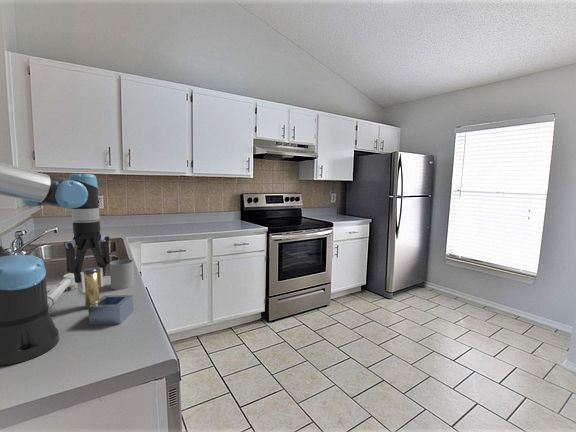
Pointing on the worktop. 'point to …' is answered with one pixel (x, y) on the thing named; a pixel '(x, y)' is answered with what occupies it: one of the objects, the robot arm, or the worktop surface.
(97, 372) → the worktop surface
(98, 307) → the open blue-gray rectangular box
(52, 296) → the white knobby-ended rod
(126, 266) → the cup
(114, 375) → the worktop surface
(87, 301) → the olive tall cylinder
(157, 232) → the worktop surface
